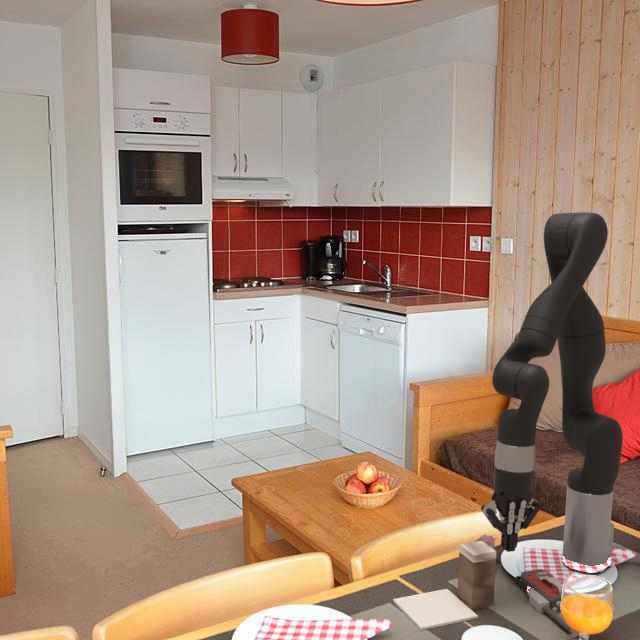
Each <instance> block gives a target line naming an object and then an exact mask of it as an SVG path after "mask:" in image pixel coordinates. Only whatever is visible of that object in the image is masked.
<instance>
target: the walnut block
mask: <svg viewBox="0 0 640 640" xmlns="http://www.w3.org/2000/svg"><path fill="white" fill-rule="evenodd" d="M458 549H459V551H458V554H459V555H458V572H457V591H456V592H457V593H456V595H457V596H456V597H457V598H458V599H459V600H460V601H462V602H463V603H464V604H465V605H466V606H467V607H468V608H470V609H471V610H472V611H474V610H480V609H485V608H488V607H493V606H495V605H494V604H495V603H494V602H495V587H496V586H495V583H496V569H497V567H496V566H497V550H496V549H495V548H494V549H493V548H491V547H490V546H488V545H487V544H485V543H484V542H483V541H477V542H474V541H471V542H466V543H461V544H460V543H459V548H458Z"/></svg>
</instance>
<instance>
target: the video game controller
mask: <svg viewBox="0 0 640 640" xmlns="http://www.w3.org/2000/svg"><path fill="white" fill-rule="evenodd" d="M477 541H483V542H484V543H485V544H487V545H488V546H490V547H491V548H493V549H494V550H495V545H496V542H495V541H496V539H495V538H494V537H493V535H490V534H488V535H487V533H484V534H482V535H481V536H480V537H478V538H477V539H476V540H474V541H473V542H477Z"/></svg>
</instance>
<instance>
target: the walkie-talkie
mask: <svg viewBox="0 0 640 640" xmlns="http://www.w3.org/2000/svg"><path fill="white" fill-rule="evenodd" d="M514 580H515V582H516V583H517V584H519V587H520V588H521V589H522V590H523V591H524V592H526V590H527V586H529V587H531V588H530V589H528V591H529V593H527V592H526V594H527V596H528V603H529V604H530V606H532V607H533V608H534V609H536V610H537V611H536V612H538V613H539V614H543V613H545V614H546V615H549V617H551V618H552V619H553V620H554V621H555V622H556V623H557V624H558V625H559V624H560V625H561V626H562V627H563V628H564V629H566V630H567V631H569V632H570V631H571V630H572V627H571V628H570V627H569V626H568V625H567V624H568V623H567V622H566V621H565V620H564V619H563V618H562V617H560V616H559V615H558V614H557V613H558V612H561V611H560V601H561V594H562V585H563V584H564V583H563V582H562V581H560V580H559V579H558V578H557V577H555V576H554V575H553V574H552V573H550V572H549V571H547V570H545V569H542V568H540V569H533V570H532V569H531V570H526V571H522V572H521V573H520V575H516V576H515V579H514ZM565 622H566V623H567V624H566V623H565Z"/></svg>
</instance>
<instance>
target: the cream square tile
mask: <svg viewBox="0 0 640 640" xmlns="http://www.w3.org/2000/svg"><path fill="white" fill-rule="evenodd" d="M392 603H394V604H395V606H397V607H398V609H399V610H400V611H402V613H403V614H405V616H406V617H408V619H409V620H410V622H411V621H412V623H413V624H414V625H415V626H416V627H417V628H418V630H420V631H424V630H428V629H433V628H440V627H442V626H443V627H444V626H447V625H453V624H458V623H463V622H466V621H467V622H468V621H473V620H476V619H479V615H478V614H477V613H476V612H474V610H471V609H470V608H468V607H467V606H466V605H465V604H464V603H463V602H462V601H460V600H459V599H458V598H457V596H456V595H455V594H454V593H453V592H452V591H450V590H449V589H448V588H444V589H439V590H434V591H428V592H423V593H418V594H413V595H409V596H408V595H407V596H402V597H398V598H393V599H392Z"/></svg>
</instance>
